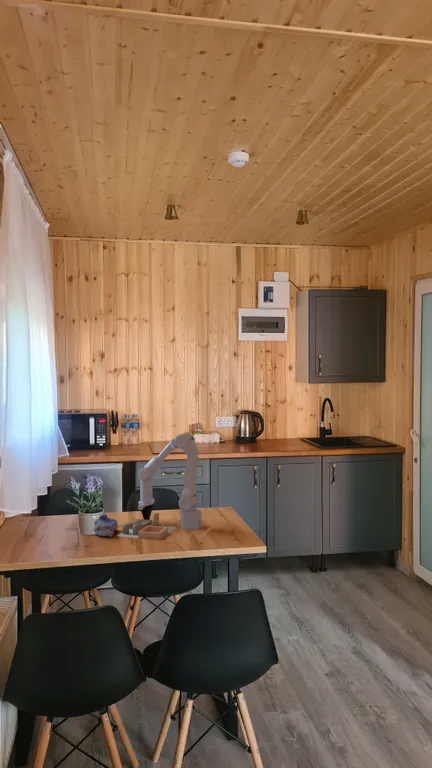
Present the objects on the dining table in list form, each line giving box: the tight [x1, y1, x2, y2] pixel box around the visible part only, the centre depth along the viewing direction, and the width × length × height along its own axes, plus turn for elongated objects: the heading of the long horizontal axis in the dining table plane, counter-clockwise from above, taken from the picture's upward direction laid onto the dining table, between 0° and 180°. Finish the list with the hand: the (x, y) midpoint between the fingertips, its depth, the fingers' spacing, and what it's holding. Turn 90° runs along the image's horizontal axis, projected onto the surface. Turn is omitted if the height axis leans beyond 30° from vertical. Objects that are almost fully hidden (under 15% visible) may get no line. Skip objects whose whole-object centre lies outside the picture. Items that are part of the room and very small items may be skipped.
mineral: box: [92, 513, 119, 538], centre depth 250 cm, size 14×10×10 cm
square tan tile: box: [128, 518, 153, 530], centre depth 259 cm, size 8×8×2 cm
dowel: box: [152, 512, 160, 526], centre depth 255 cm, size 3×3×7 cm
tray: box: [137, 526, 168, 540], centre depth 246 cm, size 10×10×2 cm
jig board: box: [115, 522, 177, 541], centre depth 252 cm, size 21×20×5 cm
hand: (146, 521), depth 265 cm, fingers closed
